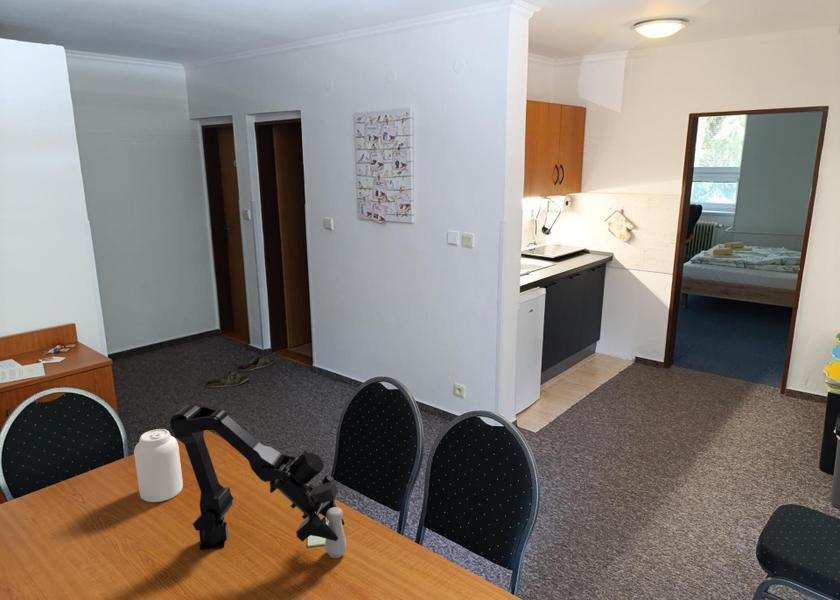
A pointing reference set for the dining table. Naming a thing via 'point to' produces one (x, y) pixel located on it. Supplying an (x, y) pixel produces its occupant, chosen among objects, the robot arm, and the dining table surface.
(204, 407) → the robot arm
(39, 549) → the dining table surface
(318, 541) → the pad
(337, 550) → the salt shaker
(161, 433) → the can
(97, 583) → the dining table surface
